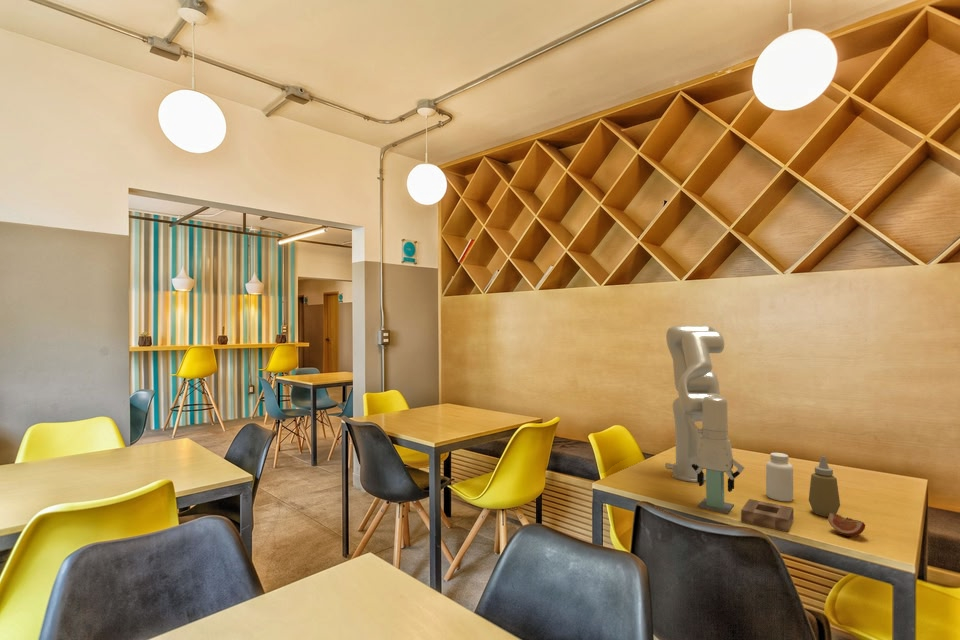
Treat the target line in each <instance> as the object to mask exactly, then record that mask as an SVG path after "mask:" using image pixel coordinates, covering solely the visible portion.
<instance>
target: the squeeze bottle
mask: <svg viewBox="0 0 960 640" xmlns="http://www.w3.org/2000/svg"><path fill="white" fill-rule="evenodd" d="M808 502H809V504H810V506H811V511H812V512H813V513H814V514H816V515H818V516H821V517H826V518H827V517H828V516H829V513H832V514H836V515H838V511H839V509H840V507H841V501H840V495H839V486H838V480H837V477H835V476H834V470H833V468H831V467H829V464H828V460H827V457H826V456H822V455H821V456H820V460H819V464H818V466H815V467H814V472H813V473H811V475H810V483H809V493H808Z"/></svg>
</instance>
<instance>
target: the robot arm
mask: <svg viewBox="0 0 960 640" xmlns="http://www.w3.org/2000/svg"><path fill="white" fill-rule="evenodd" d="M665 336H666V344H667V348H668V350H669V353H670V355H671V358H672V364H673V366H672V367H673V378H674V379H673V380H674V385H675V389H676V391H677V393H678V397H677V398H675V399H674V400H673V402H672V411H673V412H672V413H673V419H674V427H675V430H674V431H675V463H671V462H665V467H664V468H666V470H672V471H671V476H672V477H673V478H674V479H677V480H679V481H684V482H689V483H698V486H699V487H701V486H703V485H704V484H705V483H704V481H705V482H706V473H705V472H704V471H703V470H706V469H708V470H714V471H719V472H724V473H726V475H727V477H728V478H727V492H729V493H731V492H732V491H733V490H734V489H735V478H737V477H739V476H740V474H741V473H742V472H743V471H744V470H745V466H743V465H742V464H741V463H740V462H738V461H737V460H736V459H734V456H733V455H734V454H733V449H732V444H731V439H729V435H728V433H729V432H728V424H729V423H728V419H729V418H728V400H727V399H726V398H725V397H723V396H722V395H721V394H720V393H721V391H720V384H719V378H718V376H717V374H716V372H715V371H713V363H712V359H711V356H710V354H721V353H722V352H724V349H725V340H724V337H723V335H722V333H721V332H720V331H719V330H718V329H716V328H714V327H713V326H712V325H707V324H706V325H704V324H703V325H701V324H700V325H687V324H686V325H673V326H671V327H669V328H668V329H667V331H666V335H665ZM695 422H698V423H699V422H702V424H701V426H702V427H701V428H699V427H698V426H697V424H695ZM734 466H735V468H737V470H736V471H735V472H734V471H733V468H734Z"/></svg>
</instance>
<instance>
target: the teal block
mask: <svg viewBox="0 0 960 640" xmlns="http://www.w3.org/2000/svg"><path fill="white" fill-rule="evenodd" d="M705 475H706V480H705V485H706V486H705V487H706V489H705V491H706V494H705V498H706V505H708V506H713V507H718V508H722V507H723V505H724V502H725V472H719V471H714V470H708V469H705Z"/></svg>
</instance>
